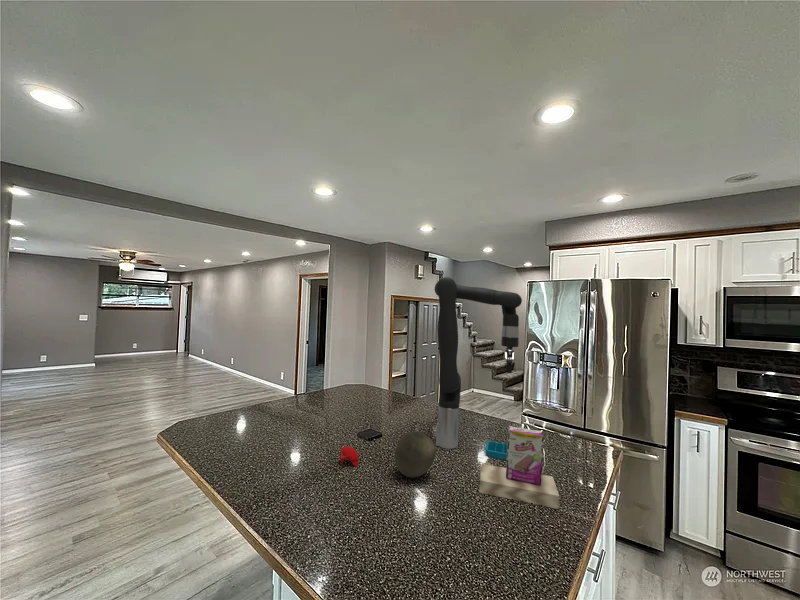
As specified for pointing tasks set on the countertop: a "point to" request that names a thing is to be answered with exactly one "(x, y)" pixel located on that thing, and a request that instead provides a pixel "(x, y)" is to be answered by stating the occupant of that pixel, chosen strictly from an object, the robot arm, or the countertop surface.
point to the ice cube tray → (496, 450)
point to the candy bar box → (524, 455)
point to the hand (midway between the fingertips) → (508, 371)
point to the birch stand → (518, 487)
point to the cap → (349, 455)
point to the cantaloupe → (414, 454)
